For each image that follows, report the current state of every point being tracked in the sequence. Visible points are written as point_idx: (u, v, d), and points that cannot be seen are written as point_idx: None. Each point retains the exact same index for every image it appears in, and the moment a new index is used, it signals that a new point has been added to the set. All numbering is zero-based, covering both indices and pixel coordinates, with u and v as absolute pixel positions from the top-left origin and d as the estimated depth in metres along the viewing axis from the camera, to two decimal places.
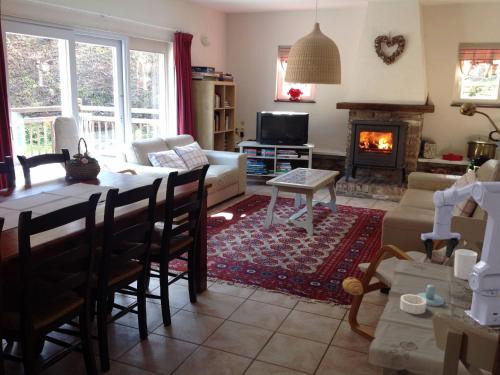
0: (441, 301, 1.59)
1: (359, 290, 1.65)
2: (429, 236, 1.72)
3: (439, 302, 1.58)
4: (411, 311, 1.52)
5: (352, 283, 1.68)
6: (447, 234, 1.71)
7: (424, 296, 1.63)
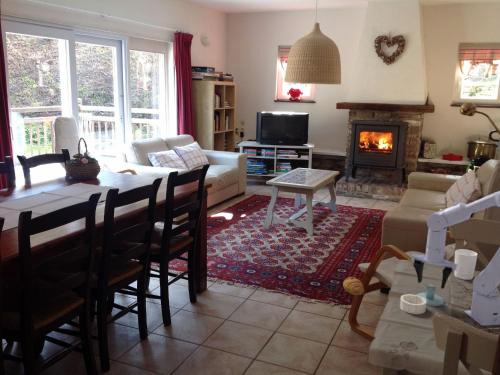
0: (441, 301, 1.59)
1: (360, 290, 1.65)
2: (417, 257, 1.61)
3: (439, 302, 1.58)
4: (411, 311, 1.52)
5: (353, 283, 1.68)
6: (434, 260, 1.56)
7: (424, 296, 1.63)
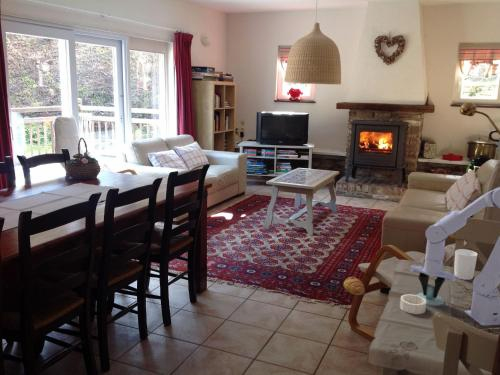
0: (441, 301, 1.59)
1: (361, 290, 1.65)
2: (416, 269, 1.62)
3: (439, 302, 1.58)
4: (411, 311, 1.52)
5: (353, 283, 1.68)
6: (433, 271, 1.57)
7: (424, 296, 1.63)
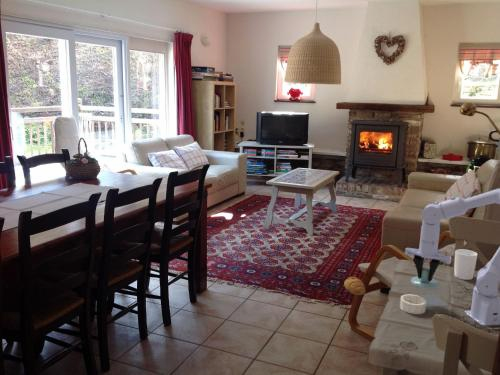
0: (436, 284, 1.55)
1: (361, 290, 1.65)
2: (410, 251, 1.58)
3: (434, 285, 1.55)
4: (411, 311, 1.52)
5: (354, 283, 1.68)
6: (428, 253, 1.53)
7: (419, 280, 1.59)
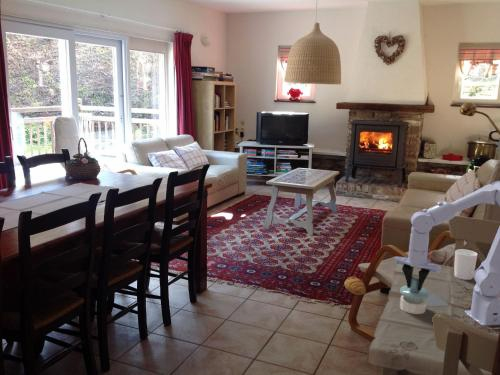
0: (426, 294, 1.52)
1: (362, 290, 1.65)
2: (399, 260, 1.54)
3: (423, 295, 1.51)
4: (411, 311, 1.52)
5: (354, 283, 1.68)
6: (417, 262, 1.49)
7: (408, 289, 1.56)
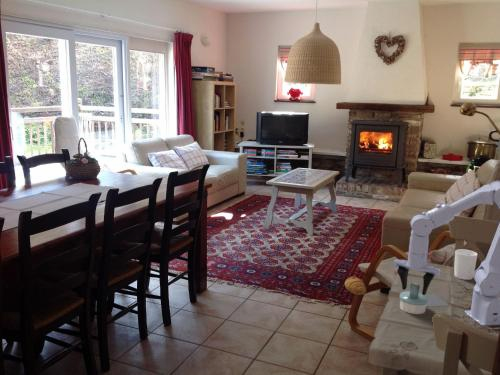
0: (425, 300, 1.53)
1: (362, 289, 1.65)
2: (399, 263, 1.55)
3: (423, 301, 1.52)
4: (411, 311, 1.52)
5: (355, 283, 1.68)
6: (417, 265, 1.50)
7: (408, 295, 1.56)
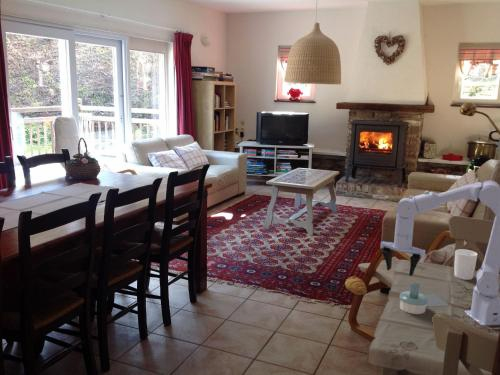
0: (425, 300, 1.53)
1: (363, 289, 1.66)
2: (385, 245, 1.60)
3: (423, 301, 1.52)
4: (411, 311, 1.52)
5: (355, 282, 1.69)
6: (402, 246, 1.55)
7: (408, 295, 1.56)
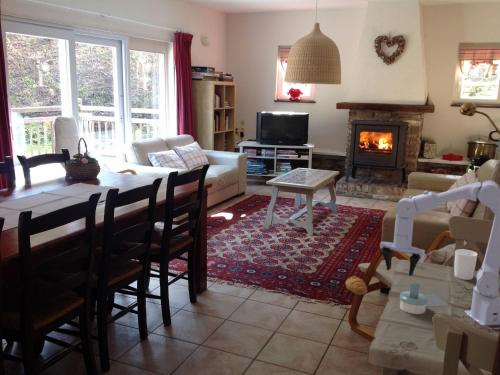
0: (425, 300, 1.53)
1: (364, 289, 1.66)
2: (385, 245, 1.60)
3: (423, 301, 1.52)
4: (411, 311, 1.52)
5: (356, 282, 1.69)
6: (402, 247, 1.55)
7: (408, 295, 1.56)
